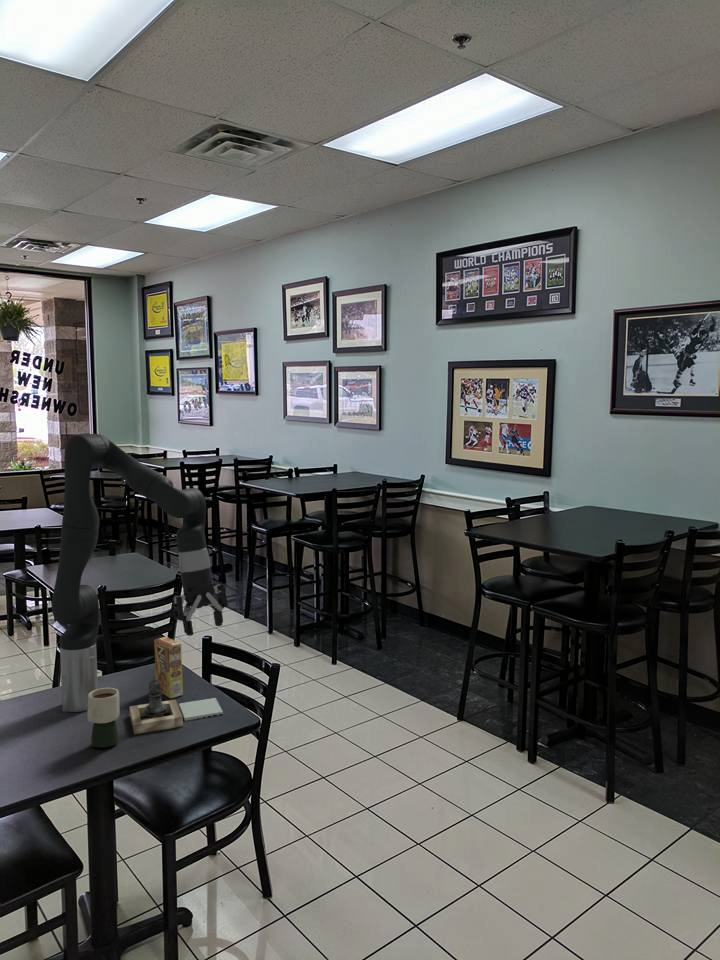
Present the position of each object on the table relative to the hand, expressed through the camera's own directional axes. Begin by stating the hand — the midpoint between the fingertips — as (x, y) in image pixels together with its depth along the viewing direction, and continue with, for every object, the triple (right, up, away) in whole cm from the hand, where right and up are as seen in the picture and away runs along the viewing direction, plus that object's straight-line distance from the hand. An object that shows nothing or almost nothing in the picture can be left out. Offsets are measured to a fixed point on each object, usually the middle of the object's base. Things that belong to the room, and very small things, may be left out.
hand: (204, 630), depth 179 cm
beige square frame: (-14, -25, +6) cm, 30 cm away
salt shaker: (-14, -25, +6) cm, 30 cm away
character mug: (-23, -27, -7) cm, 36 cm away
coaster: (-4, -24, +13) cm, 28 cm away
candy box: (-16, -24, +25) cm, 38 cm away
